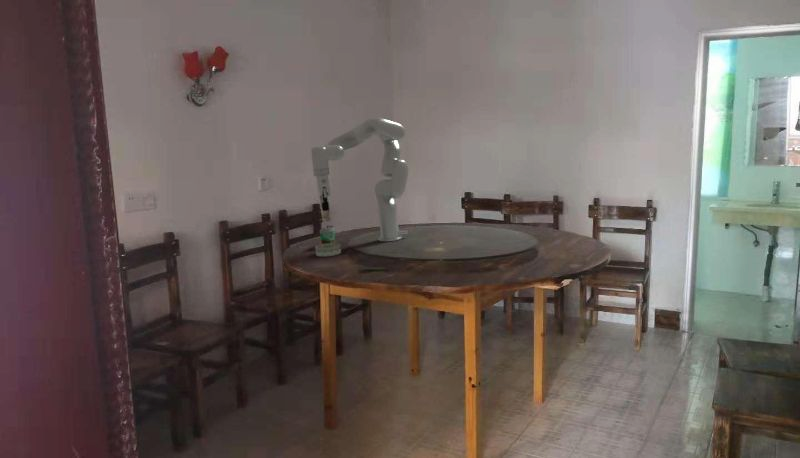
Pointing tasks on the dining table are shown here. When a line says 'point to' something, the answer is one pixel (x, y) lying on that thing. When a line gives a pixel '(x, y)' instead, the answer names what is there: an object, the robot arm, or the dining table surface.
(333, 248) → the bead
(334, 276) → the dining table surface
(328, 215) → the peg
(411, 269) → the dining table surface
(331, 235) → the food container
